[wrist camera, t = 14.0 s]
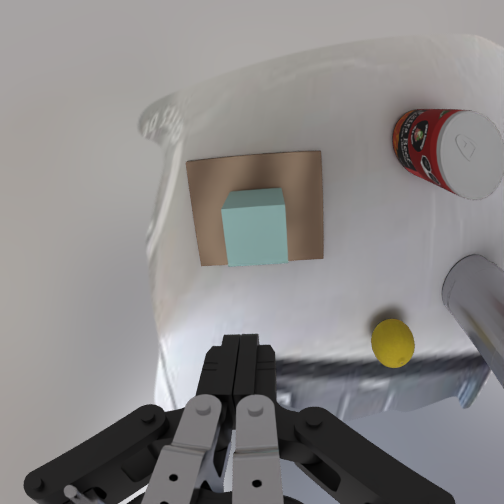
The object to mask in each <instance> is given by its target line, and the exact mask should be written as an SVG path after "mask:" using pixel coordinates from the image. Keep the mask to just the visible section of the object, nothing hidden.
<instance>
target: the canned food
mask: <svg viewBox="0 0 504 504" xmlns="http://www.w3.org/2000/svg"><path fill="white" fill-rule="evenodd" d="M393 146H394V150H395V153H396V155H397V157H398V159H399V161H400V162H401V164H402V165H403V166H404V167H405V168H406V169H407V170H408V171H409V172H411V173H412V174H414V175H416V176H418V177H421V178H423V179H425V180H427V181H429V182H431V183H433V184H435V185H437V186H440V187H442V188H444V189H446V190H448V191H450V192H452V193H454V194H456V195H458V196H460V197H463V198H466V199H469V200H481V199H483V198H486V197H488V196H489V195H491V194H492V193H493V192H494V191H495V190H496V188H497V187H498V185H499V184H500V182H501V180H502V177H503V174H504V143H503V140H502V137H501V135H500V133H499V131H498V129H497V127H496V126H495V125H494V123H493V122H492V121H491V120H490V119H489V118H488V117H486V116H484V115H483V114H481V113H478V112H475V111H471V110H455V109H417V110H412V111H410V112H408V113H406V114H405V115H404V116H403V117H401V118H400V120H399V121H398V122H397V124H396V126H395V129H394V133H393Z"/></svg>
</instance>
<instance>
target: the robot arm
mask: <svg viewBox="0 0 504 504" xmlns="http://www.w3.org/2000/svg"><path fill="white" fill-rule="evenodd" d="M442 298H443V302H444V304H445V306H446V307H447V309H448V310H449V311H450V313H451V314H452V315H453V316H454V318H455V319H456V320H457V322H458V323H459V325H460V326H461V327H462V329H463V330H464V331H465V333H466V334H467V335H468V337H469V338H470V340H471V341H472V342H473V344H474V345H475V347H476V348H477V349H478V351H479V352H480V354H481V355H482V357H483V358H484V360H485V361H486V362H487V364H488V365H489V367H490V368H491V370H492V371H493V373H494V374H495V376H496V377H497V379H498V381H499V382H500V384H501V385H502V386H503V388H504V271H503V270H502V269H501V268H500V267H498V266H497V265H496V264H495V263H493V262H492V263H491V262H489V261H488V260H487V259H486V258H484V257H483V256H480V255H471V256H468V257H466V258H464V259H462V260H461V261H460V262H458V263H457V264H456V265H455V266H454V267H453V269H452V270H451V271H450V273H449V274H448V276H447V278H446V280H445V283H444V286H443V291H442ZM232 430H236V450H235V452H234V454H233V486H232V487H233V488H232V491H230V492H224V486H223V482H224V477H225V472H226V467H227V463H228V459H229V454H230V450H231V435H232ZM280 458H281V459H284V460H289V461H293V462H295V464H296V465H297V466H298V467H299V468H300V469H301V470H302V471H303V472H304V473H305V474H306V475H308V476H309V477H310V478H311V479H312V480H313V481H315V482H316V483H317V484H318V485H319V486H320V487H321V488H322V489H324V490H325V491H326V492H327V493H328V494H330V495H331V496H332V497H333V498H334V499H335V500H337V501H338V502H339V503H340V504H455V500H454V498H453V497H452V495H451V494H450V493H448V492H447V491H445V490H443V489H442V488H440V487H438V486H437V485H435V484H434V483H432V482H430V481H429V480H427V479H426V478H424V477H422V476H421V475H419V474H418V473H416V472H414V471H413V470H411V469H410V468H408V467H407V466H405V465H404V464H402V463H401V462H399V461H398V460H396V459H395V458H393V457H392V456H390V455H389V454H387V453H386V452H384V451H383V450H381V449H380V448H379V447H377V446H376V445H374V444H373V443H371V442H370V441H368V440H367V439H366V438H364V437H363V436H361V435H360V434H359V433H357V432H356V431H354V430H353V429H352V428H350V427H349V426H348V425H346V424H345V423H344V422H342V421H341V420H340V419H338V418H337V417H335V416H334V415H333V414H331V413H330V412H329V411H327V410H326V409H324V408H321V407H308V408H305V409H303V410H301V411H300V412H295V411H290V410H287V409H285V408H283V407H281V406H280V405H279V404H278V403H277V401H276V361H275V352H274V350H273V348H272V347H271V345H259V336H258V334H242V335H240V334H237V335H224V336H223V341H222V346H212V348H211V349H210V350H209V351H208V352H207V353H206V356H205V360H204V364H203V368H202V372H201V376H200V380H199V384H198V388H197V392H196V395H195V397H193V398H192V399H190V400H189V401H188V403H187V404H186V406H185V407H184V408H182V409H178V410H173V411H168V412H164V410H163V409H162V408H161V407H159V406H157V405H152V404H149V405H144V406H141V407H139V408H138V409H136V410H135V411H133V412H132V413H130V414H128V415H127V416H126V417H124V418H122V419H120V420H119V421H117V422H116V423H114V424H113V425H111V426H110V427H108V428H106V429H104V430H103V431H101V432H100V433H98V434H96V435H95V436H93V437H91V438H90V439H88V440H86V441H85V442H83V443H81V444H80V445H78V446H76V447H75V448H73V449H71V450H69V451H68V452H66V453H64V454H62V455H61V456H59V457H57V458H55V459H54V460H52V461H50V462H48V463H46V464H45V465H43V466H41V467H39V468H37V469H35V470H34V471H32V472H30V473H29V474H28V475H27V476H26V478H25V480H24V490H25V492H26V494H27V495H28V496H29V497H30V498H32V499H33V500H34V501H36V502H37V503H39V504H118V503H120V502H121V501H123V500H124V499H126V498H127V497H129V496H131V495H132V494H134V493H135V492H137V491H138V490H139V489H141V488H143V487H144V486H146V485H147V484H148V483H149V484H148V487H147V489H146V492H144V493H142V494H140V495H139V496H137V497H136V498H134V499H133V500H131V501H130V502H129V503H127V504H303V503H302V502H300V501H298V500H296V499H293V498H291V497H288V496H284V495H283V491H282V481H281V470H280Z"/></svg>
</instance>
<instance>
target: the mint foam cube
mask: <svg viewBox="0 0 504 504" xmlns="http://www.w3.org/2000/svg"><path fill="white" fill-rule="evenodd" d="M221 213H222V221H223V229H224V237H225V244H226V252H227V260H228V267H232V266H248V265H265V264H281V263H288V249H287V229H286V212H285V202H284V197H283V193H282V188H270V189H256V190H243V191H231V192H230V193H229V195H228V197H227V199H226V200H225V202H224V204H223V206H222V208H221Z"/></svg>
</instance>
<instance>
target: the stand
mask: <svg viewBox="0 0 504 504" xmlns="http://www.w3.org/2000/svg"><path fill="white" fill-rule="evenodd" d="M186 168H187V176H188V183H189V190H190V197H191V204H192V211H193V218H194V224H195V231H196V237H197V243H198V249H199V255H200V261H201V266H212V265H228V260H227V252H226V244H225V237H224V229H223V221H222V213H221V208H222V206H223V204H224V202H225V200H226V199H227V197H228V195H229V193H230V192H231V191H243V190H256V189H270V188H282V193H283V197H284V202H285V212H286V229H287V249H288V261H294V260H310V259H323V186H322V161H321V151H300V152H282V153H266V154H253V155H242V156H231V157H221V158H212V159H203V160H195V161H187V162H186Z"/></svg>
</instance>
